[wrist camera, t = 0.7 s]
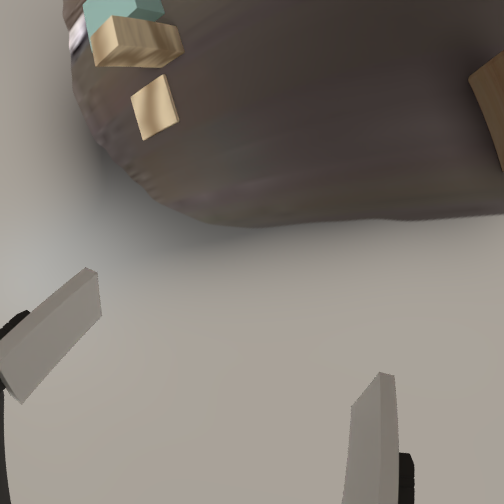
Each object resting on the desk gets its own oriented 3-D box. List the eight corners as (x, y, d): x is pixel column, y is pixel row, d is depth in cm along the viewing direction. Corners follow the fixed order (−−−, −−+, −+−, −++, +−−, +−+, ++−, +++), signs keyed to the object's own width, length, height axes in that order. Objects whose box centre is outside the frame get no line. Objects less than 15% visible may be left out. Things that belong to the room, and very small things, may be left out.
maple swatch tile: (165, 74, 39) (162, 74, 38) (179, 121, 41) (177, 121, 40) (133, 97, 43) (130, 97, 42) (145, 139, 45) (143, 140, 45)
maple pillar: (176, 26, 34) (111, 15, 25) (184, 52, 36) (118, 45, 26) (153, 42, 37) (90, 37, 28) (161, 68, 38) (95, 66, 29)
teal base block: (150, -32, 31) (123, -39, 26) (166, 13, 34) (137, 7, 30) (108, 7, 38) (82, 5, 33) (119, 53, 41) (92, 52, 36)
